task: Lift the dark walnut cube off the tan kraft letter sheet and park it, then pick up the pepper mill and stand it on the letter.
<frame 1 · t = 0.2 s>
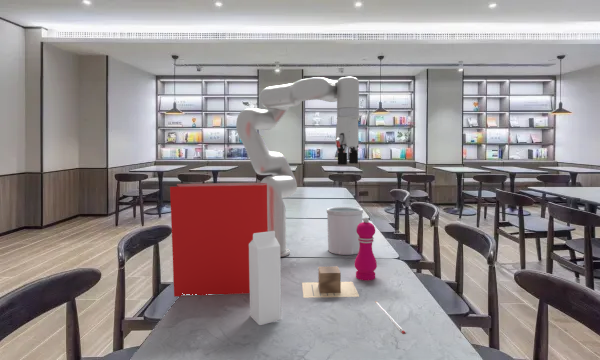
hand: (348, 164, 131), 37 cm above the table, tool pointing down, fingers open, 9 cm apart
pencil: (387, 317, 95), on the table
milk: (265, 318, 95), on the table
utensil holder: (344, 251, 156), on the table
book: (223, 290, 114), on the table
letter: (329, 289, 113), on the table
pepper mill: (365, 278, 123), on the table
block: (329, 289, 113), resting on letter
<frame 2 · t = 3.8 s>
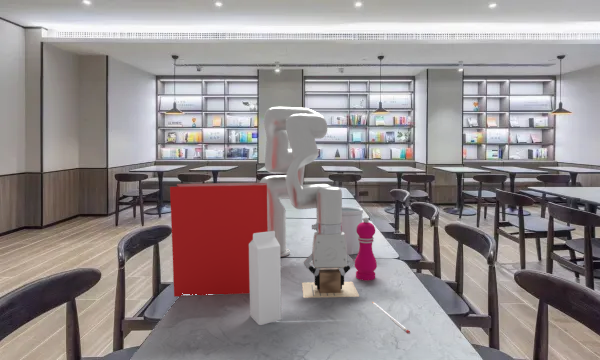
hand: (329, 286, 113), 1 cm above the table, tool pointing down, fingers closed on block, 6 cm apart
block: (329, 289, 113), resting on letter, touching gripper
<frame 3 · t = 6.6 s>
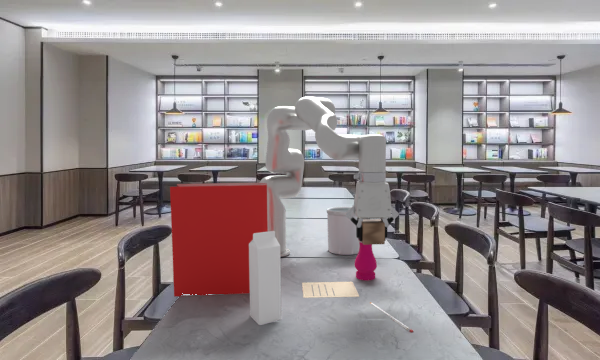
hand: (371, 239, 109), 16 cm above the table, tool pointing down, fingers closed on block, 6 cm apart
block: (371, 241, 109), point 15 cm above the table, touching gripper
when the fingers open (2 cm above the table, at t = 9.4 s): block drops 1 cm, on the table.
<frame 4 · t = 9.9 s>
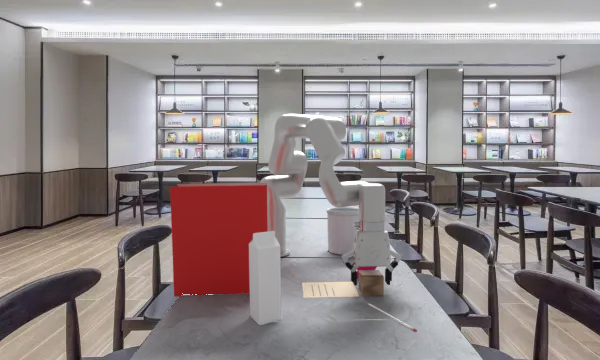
hand: (371, 283, 110), 3 cm above the table, tool pointing down, fingers open, 9 cm apart
block: (370, 293, 110), on the table
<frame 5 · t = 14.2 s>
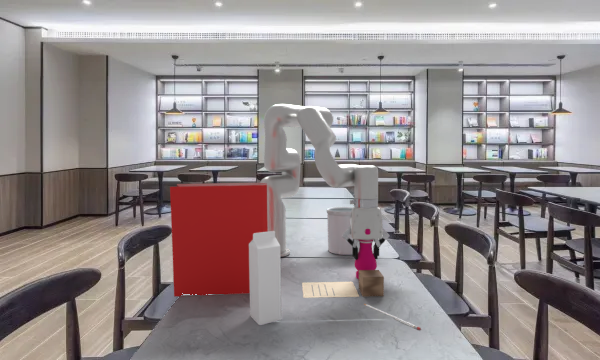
hand: (365, 257, 123), 7 cm above the table, tool pointing down, fingers closed on pepper mill, 5 cm apart
pepper mill: (365, 278, 123), on the table, touching gripper
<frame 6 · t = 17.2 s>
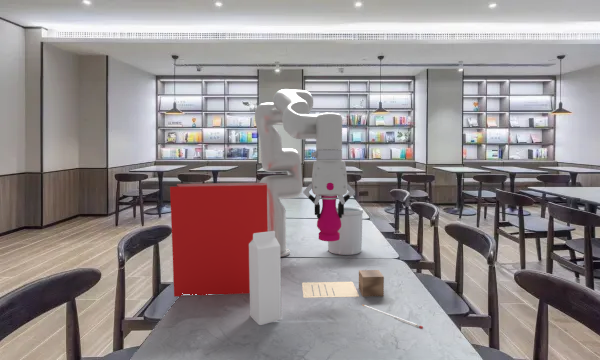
hand: (329, 216, 111), 22 cm above the table, tool pointing down, fingers closed on pepper mill, 5 cm apart
pepper mill: (329, 239, 112), point 15 cm above the table, touching gripper
when the fingers open (8 cm above the table, at t = 20.2 s): pepper mill stays where it is, resting on letter.
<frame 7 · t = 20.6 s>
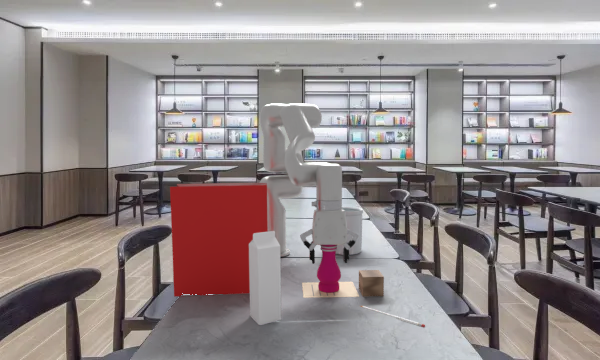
hand: (329, 262, 112), 8 cm above the table, tool pointing down, fingers open, 9 cm apart
pepper mill: (328, 289, 113), resting on letter
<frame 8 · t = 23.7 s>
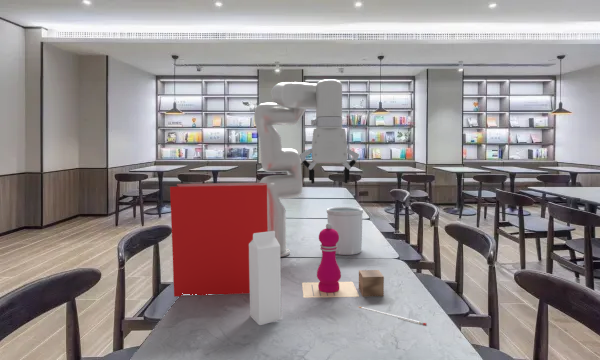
hand: (329, 182, 110), 32 cm above the table, tool pointing down, fingers open, 9 cm apart
at the end: pepper mill inside the target area on the letter (0.2 cm from its centre), point 0.0 cm above the letter's base; pepper mill tilted 0°; block touching table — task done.
